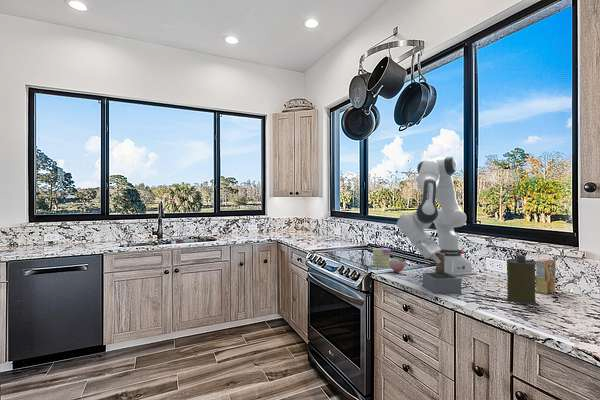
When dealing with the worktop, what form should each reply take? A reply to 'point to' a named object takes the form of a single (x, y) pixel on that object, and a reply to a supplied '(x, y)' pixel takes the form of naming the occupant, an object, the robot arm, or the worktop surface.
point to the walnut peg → (441, 265)
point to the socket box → (442, 283)
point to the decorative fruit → (397, 264)
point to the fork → (411, 263)
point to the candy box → (545, 276)
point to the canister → (521, 280)
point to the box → (381, 257)
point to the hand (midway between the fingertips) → (441, 261)
